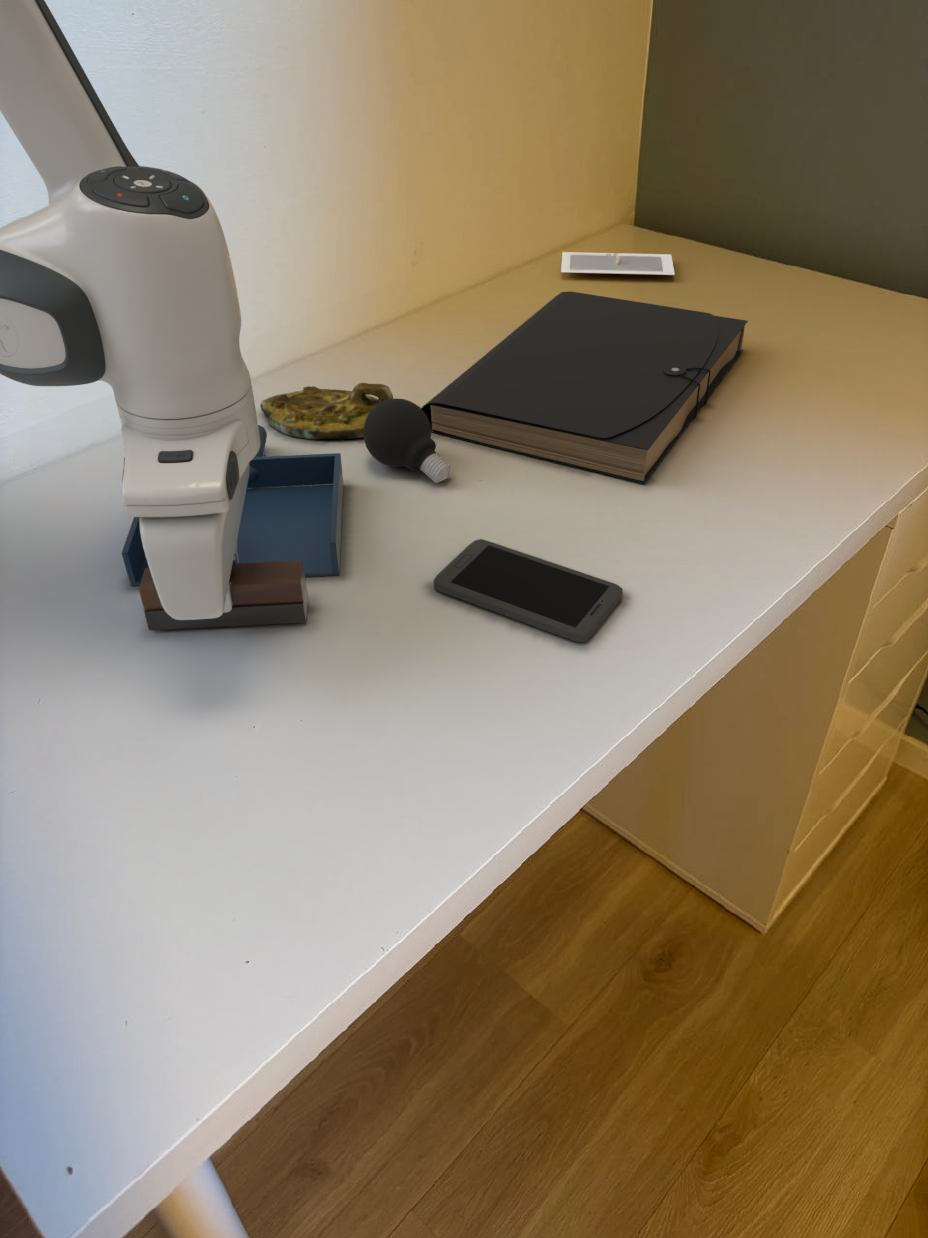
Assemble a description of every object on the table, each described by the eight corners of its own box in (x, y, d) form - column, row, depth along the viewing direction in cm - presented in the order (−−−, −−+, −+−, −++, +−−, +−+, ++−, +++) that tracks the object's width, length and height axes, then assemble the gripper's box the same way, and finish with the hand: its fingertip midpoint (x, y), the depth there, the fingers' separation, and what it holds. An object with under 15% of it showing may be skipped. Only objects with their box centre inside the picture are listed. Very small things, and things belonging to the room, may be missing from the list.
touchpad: (673, 282, 132) (675, 266, 131) (560, 280, 133) (561, 263, 132) (670, 262, 138) (672, 246, 137) (562, 259, 139) (562, 244, 138)
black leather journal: (650, 446, 90) (419, 395, 99) (646, 485, 92) (421, 433, 101) (750, 317, 112) (554, 286, 121) (744, 352, 115) (553, 318, 124)
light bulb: (439, 459, 88) (363, 390, 91) (412, 512, 92) (340, 445, 95) (481, 444, 93) (408, 379, 95) (454, 495, 97) (384, 431, 99)
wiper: (305, 622, 77) (297, 561, 73) (148, 630, 76) (132, 569, 72) (308, 597, 79) (299, 537, 76) (155, 604, 79) (140, 544, 75)
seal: (248, 444, 101) (392, 452, 99) (239, 404, 98) (387, 412, 96) (274, 394, 108) (409, 400, 106) (266, 355, 104) (406, 361, 102)
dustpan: (339, 575, 82) (335, 542, 80) (130, 586, 81) (121, 552, 79) (345, 442, 99) (342, 412, 97) (173, 450, 99) (167, 419, 96)
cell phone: (476, 543, 85) (476, 536, 84) (626, 594, 79) (627, 586, 79) (429, 588, 80) (429, 580, 80) (585, 645, 74) (585, 638, 74)
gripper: (169, 364, 75) (201, 518, 84) (114, 510, 59) (161, 681, 68) (253, 361, 76) (276, 514, 84) (221, 505, 60) (253, 676, 68)
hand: (224, 590), depth 76 cm, fingers closed on wiper, 3 cm apart
